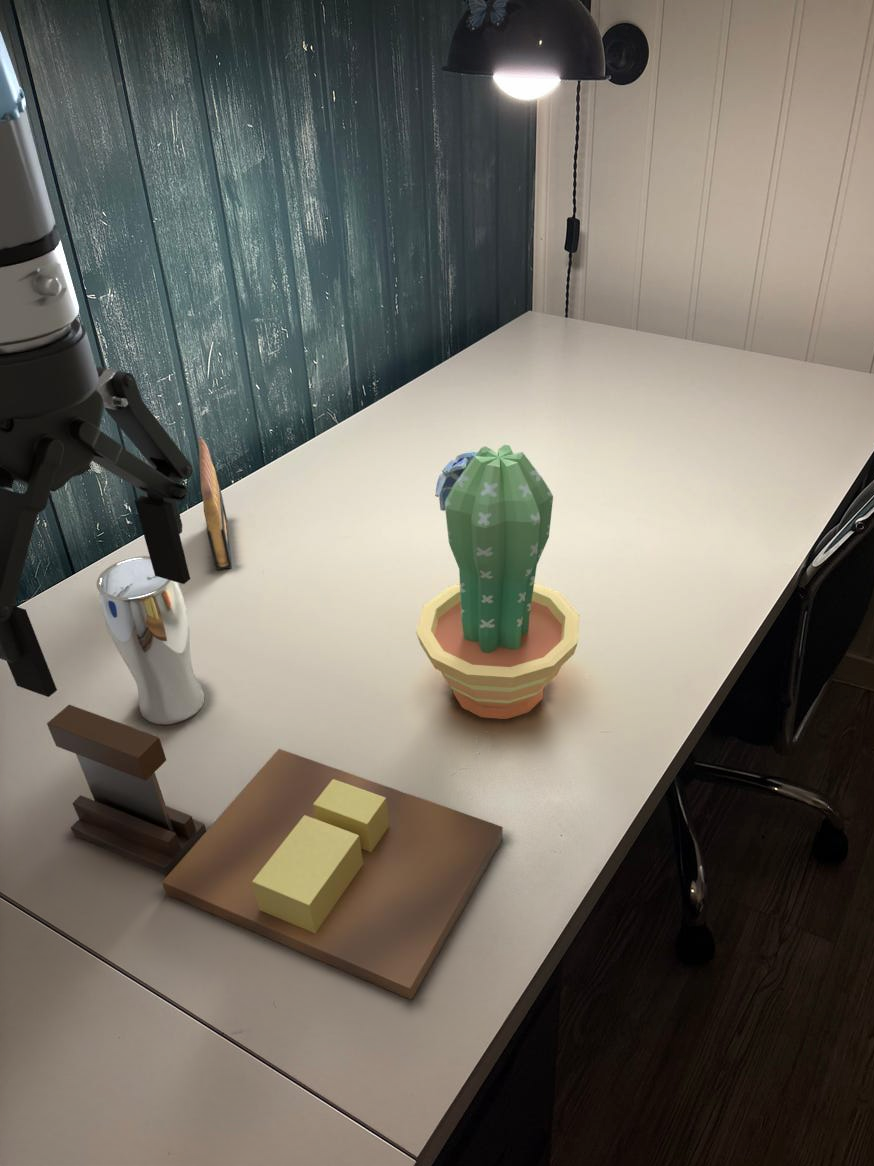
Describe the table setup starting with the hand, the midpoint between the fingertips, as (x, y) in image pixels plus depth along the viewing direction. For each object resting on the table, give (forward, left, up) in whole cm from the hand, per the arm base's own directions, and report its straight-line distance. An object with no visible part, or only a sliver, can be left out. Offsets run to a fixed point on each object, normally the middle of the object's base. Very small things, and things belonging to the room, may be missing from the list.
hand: (110, 629), depth 66 cm
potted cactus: (+17, +28, -22) cm, 39 cm away
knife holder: (-3, -1, -22) cm, 22 cm away
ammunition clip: (-24, +38, -22) cm, 49 cm away
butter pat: (+14, +5, -20) cm, 25 cm away
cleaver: (-3, -1, -21) cm, 21 cm away
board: (+14, +3, -22) cm, 26 cm away
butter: (+14, -1, -20) cm, 25 cm away
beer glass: (-11, +13, -22) cm, 27 cm away
